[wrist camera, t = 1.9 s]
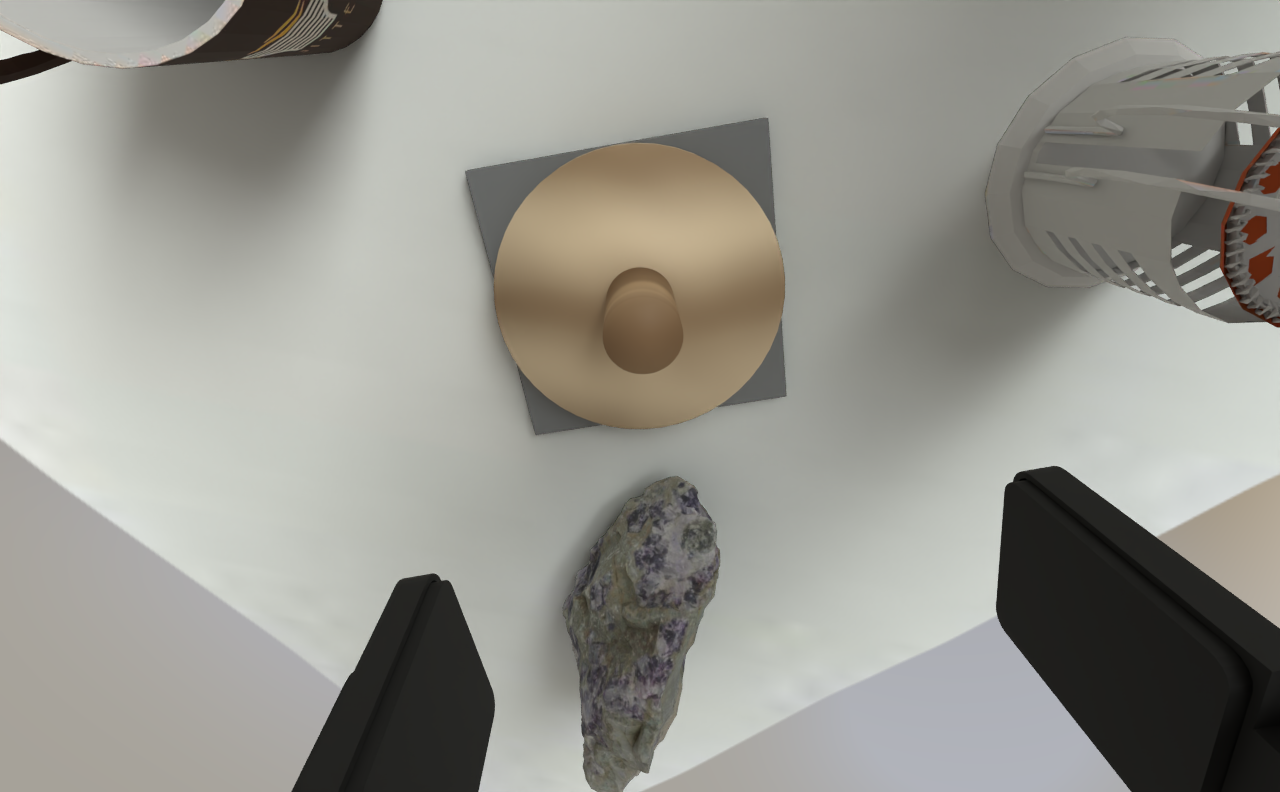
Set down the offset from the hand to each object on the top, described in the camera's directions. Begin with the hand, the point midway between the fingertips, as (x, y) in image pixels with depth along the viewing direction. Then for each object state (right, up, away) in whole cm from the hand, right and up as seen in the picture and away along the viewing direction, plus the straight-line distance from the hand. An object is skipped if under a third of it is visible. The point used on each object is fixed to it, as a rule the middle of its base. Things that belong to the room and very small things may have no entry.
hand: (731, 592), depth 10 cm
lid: (-2, +8, +16) cm, 18 cm away
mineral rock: (-1, -7, +23) cm, 24 cm away
